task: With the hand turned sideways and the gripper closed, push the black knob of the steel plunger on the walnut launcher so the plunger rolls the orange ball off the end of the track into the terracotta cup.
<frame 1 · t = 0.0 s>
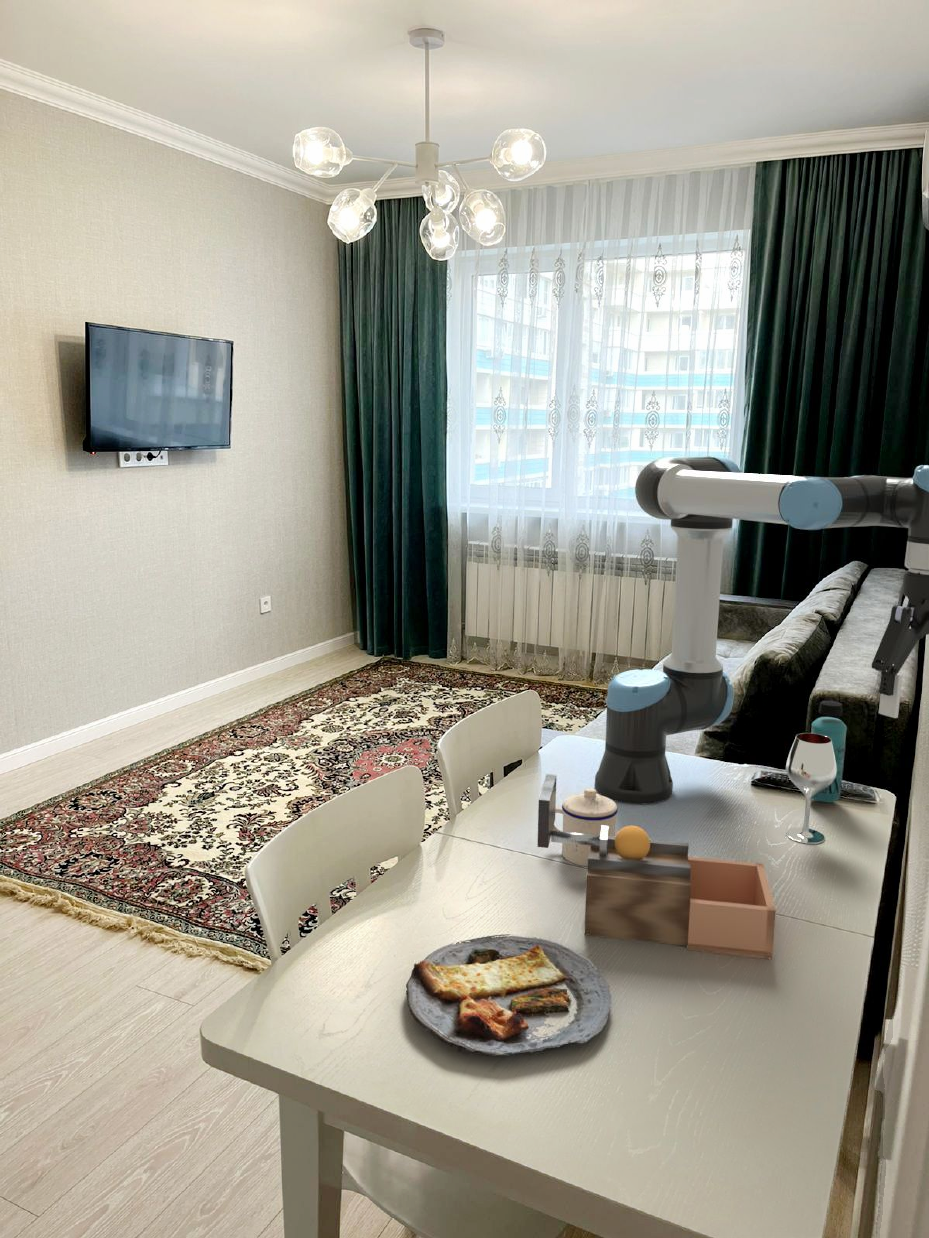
hand: (917, 709, 139), 28 cm above the table, tool pointing down, fingers open, 13 cm apart
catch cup: (725, 927, 130), on the table
food plate: (506, 1004, 113), on the table
beverage bottle: (822, 803, 175), on the table
wineglass: (805, 837, 160), on the table
plunger: (574, 820, 131), point 14 cm above the table, slide at 0.0 cm
launcher: (614, 915, 133), on the table
teacup with lid: (579, 854, 153), on the table
ball: (632, 843, 130), point 11 cm above the table, touching launcher
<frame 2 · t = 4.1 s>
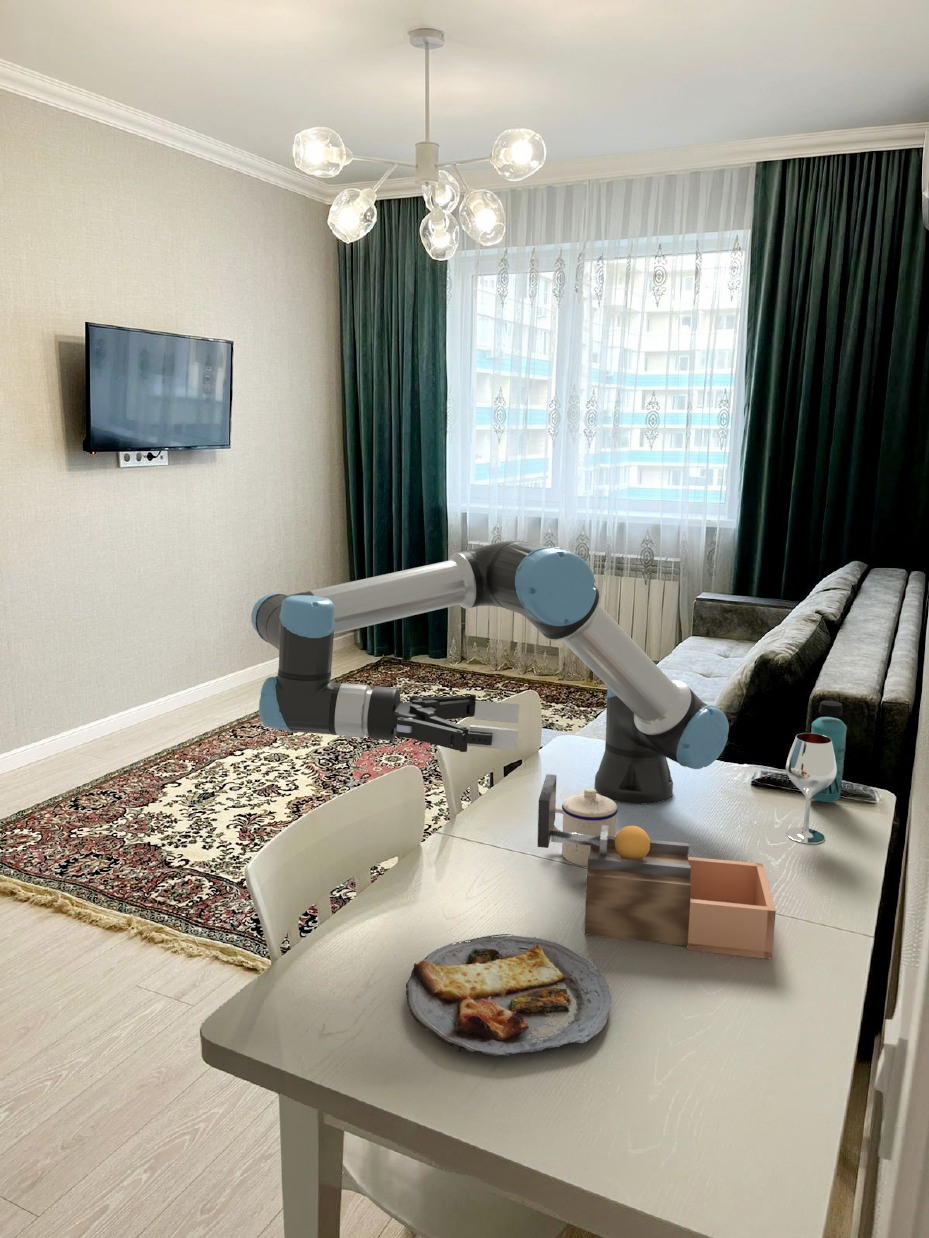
hand: (518, 726, 130), 28 cm above the table, tool horizontal, fingers open, 13 cm apart
nothing on the table moved.
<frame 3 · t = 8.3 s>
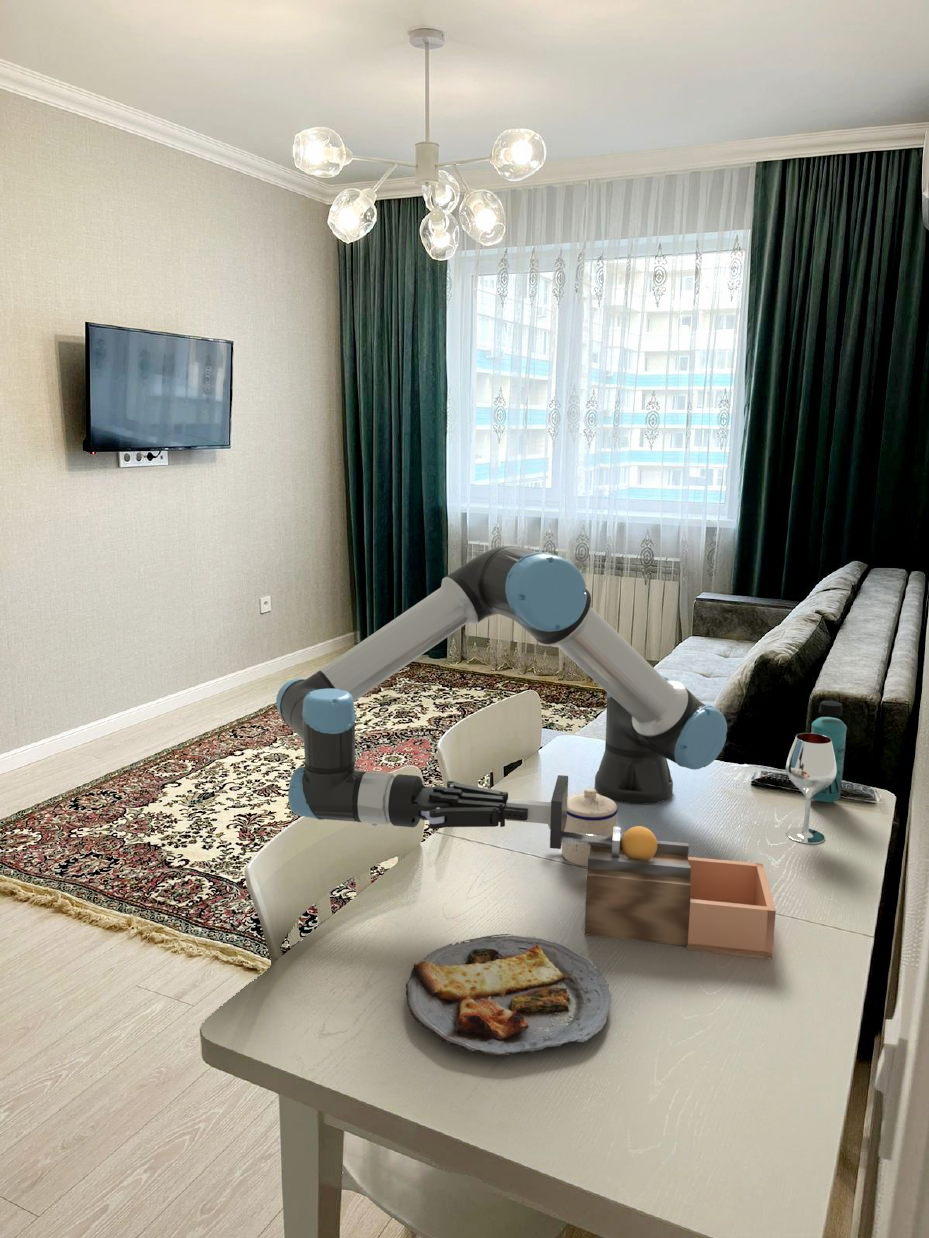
hand: (551, 813, 131), 15 cm above the table, tool horizontal, fingers closed
plunger: (586, 821, 131), point 14 cm above the table, slide at 1.7 cm, touching gripper
ball: (639, 844, 130), point 11 cm above the table, tilted 20°, touching launcher
everything else where it was.
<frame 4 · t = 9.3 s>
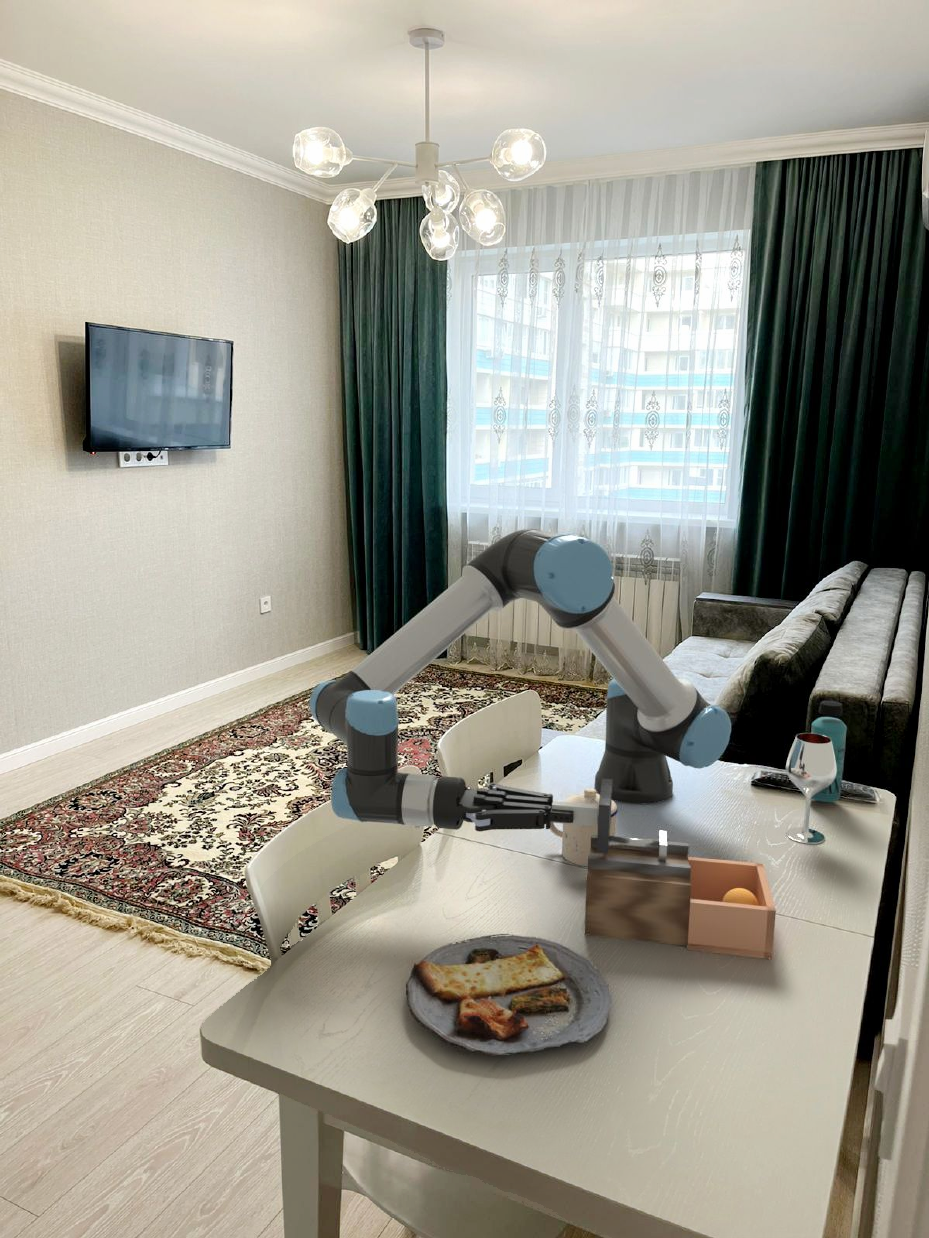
hand: (597, 815, 130), 15 cm above the table, tool horizontal, fingers closed
plunger: (633, 825, 130), point 14 cm above the table, slide at 8.2 cm, touching gripper
ball: (740, 906, 129), point 3 cm above the table, tilted 20°, touching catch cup
everything else where it was.
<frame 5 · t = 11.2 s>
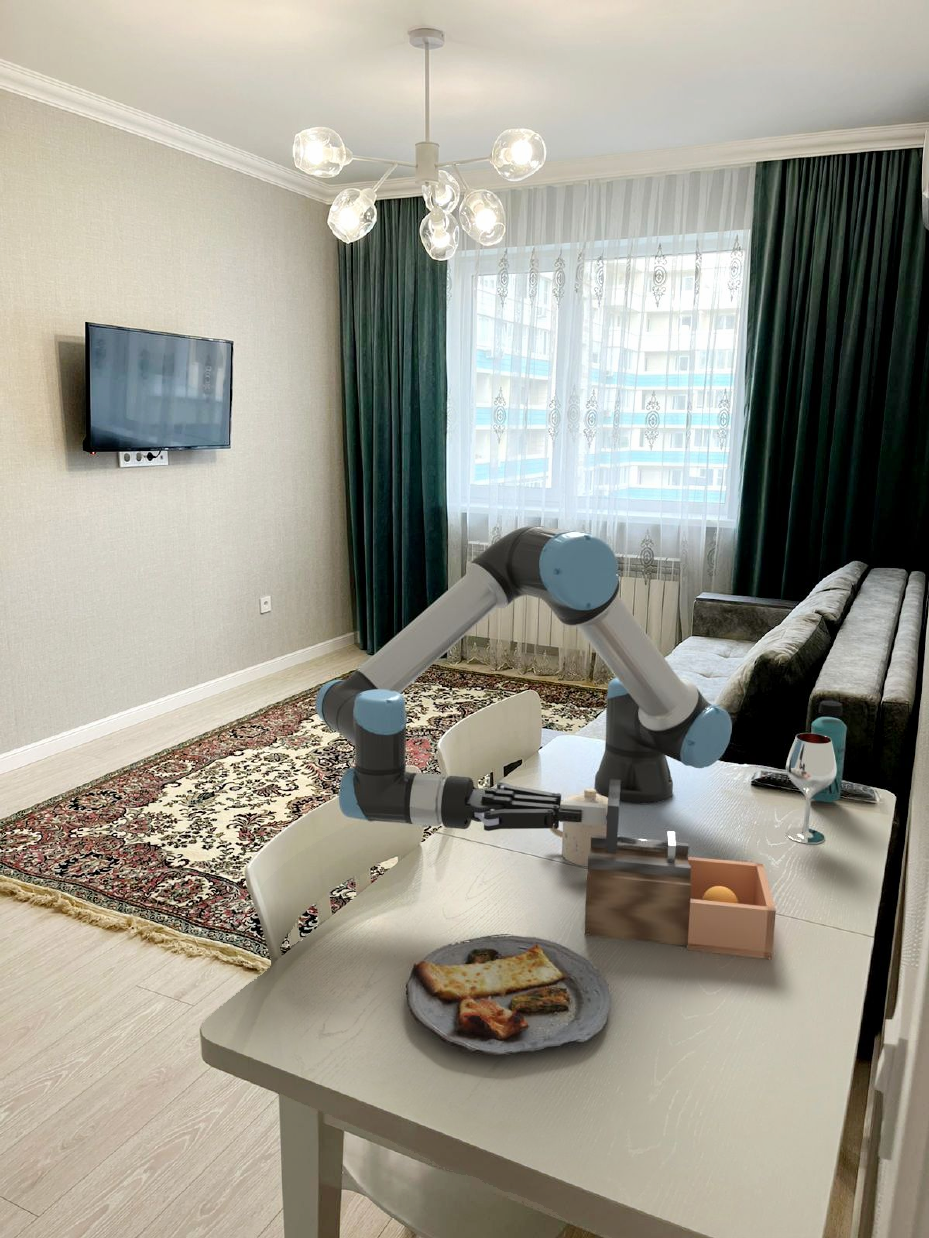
hand: (606, 814, 130), 15 cm above the table, tool horizontal, fingers closed
plunger: (641, 825, 130), point 14 cm above the table, slide at 9.4 cm, touching gripper
ball: (720, 904, 130), point 3 cm above the table, tilted 39°, touching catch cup
everything else where it was.
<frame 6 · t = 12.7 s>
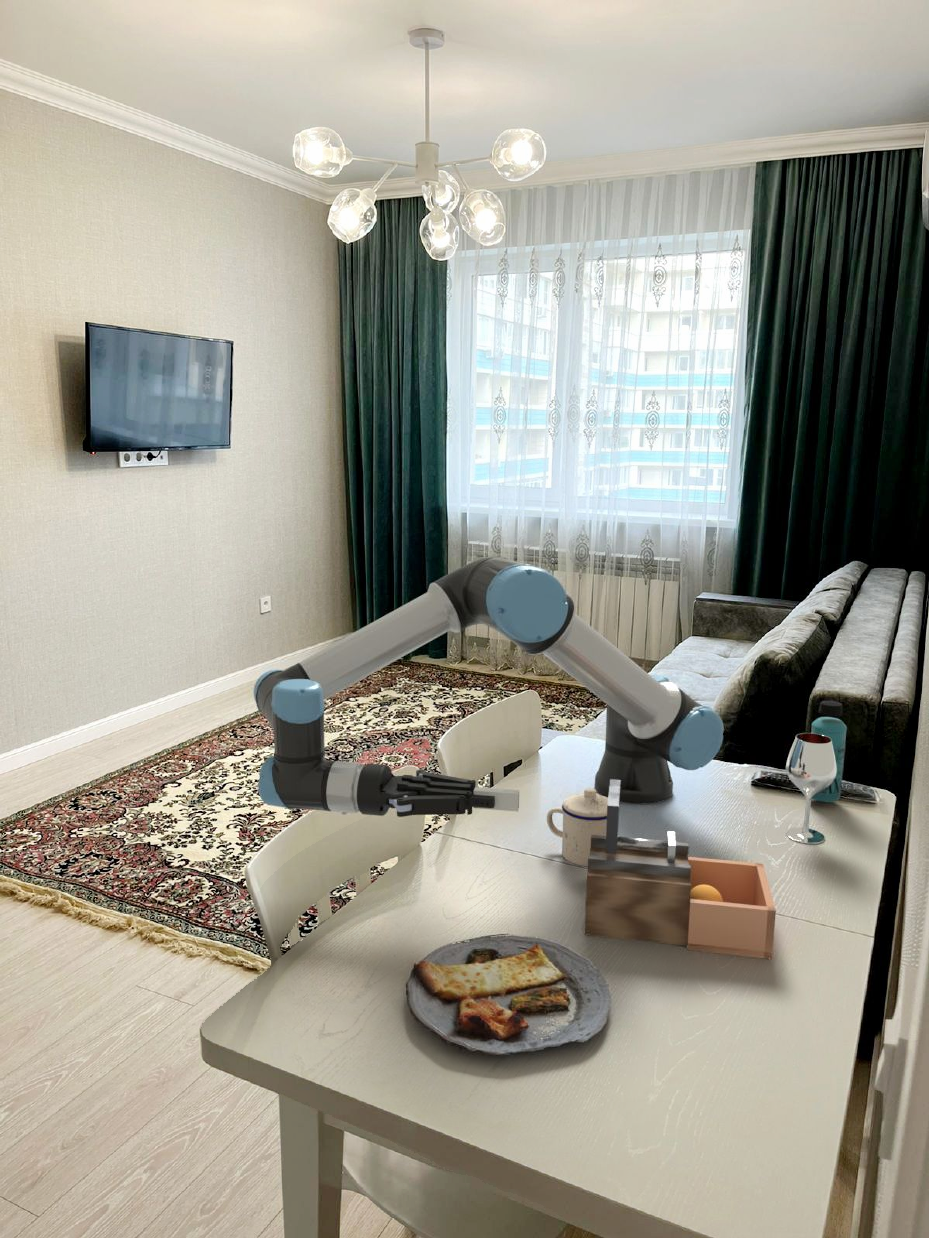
hand: (518, 800, 132), 17 cm above the table, tool horizontal, fingers closed
plunger: (641, 825, 130), point 14 cm above the table, slide at 9.4 cm
ball: (704, 902, 130), point 3 cm above the table, tilted 87°, touching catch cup
everything else where it was.
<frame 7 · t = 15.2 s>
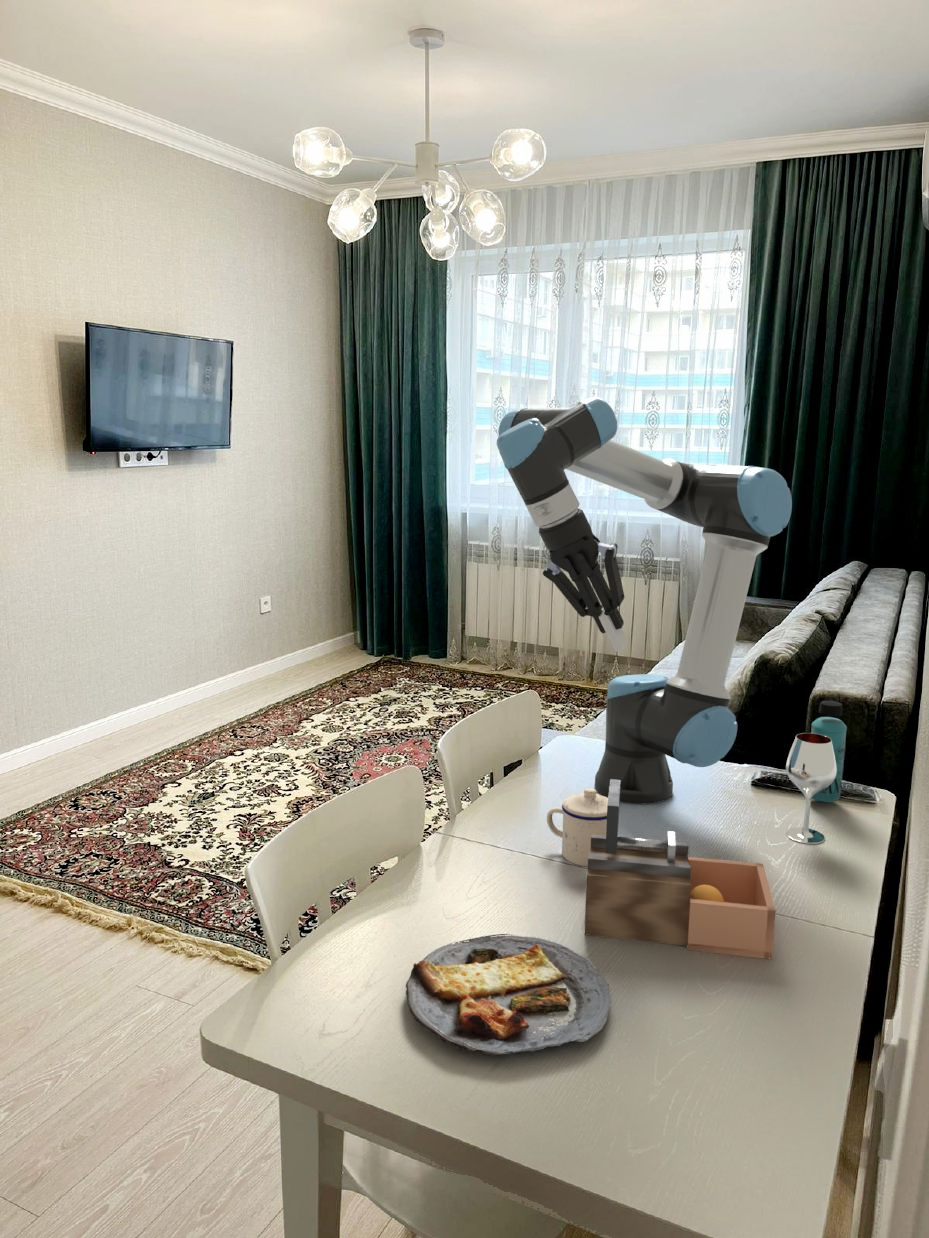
hand: (621, 646, 147), 35 cm above the table, tool tilted 30°, fingers closed
nothing on the table moved.
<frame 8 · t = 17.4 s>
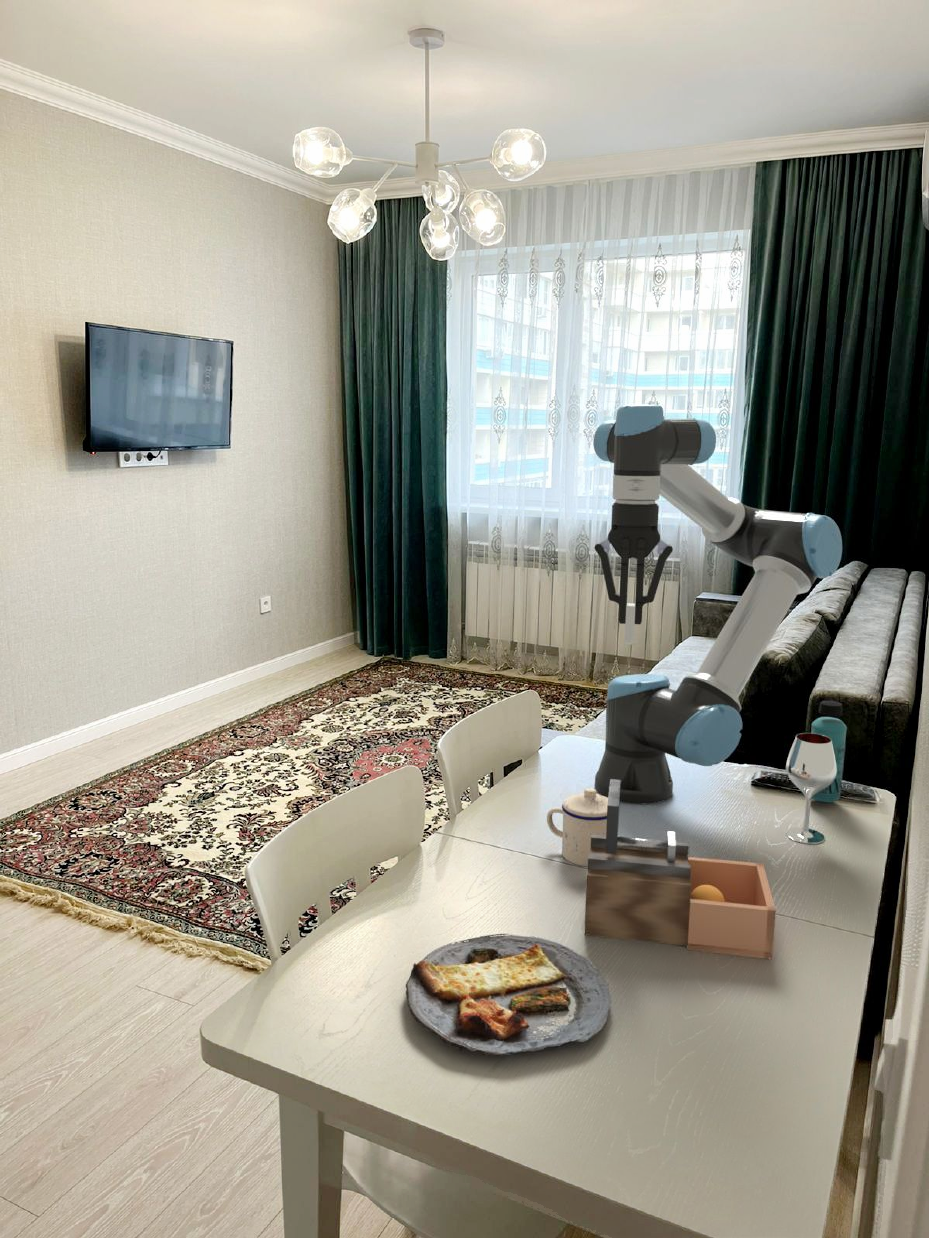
hand: (629, 642, 154), 34 cm above the table, tool pointing down, fingers closed
nothing on the table moved.
at the end: ball 2.7 cm from the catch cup (horizontally); ball point 3.5 cm above the table; plunger slide at 9.4 cm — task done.
